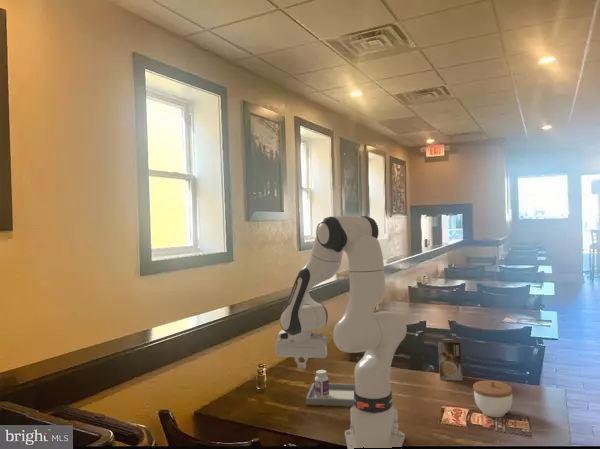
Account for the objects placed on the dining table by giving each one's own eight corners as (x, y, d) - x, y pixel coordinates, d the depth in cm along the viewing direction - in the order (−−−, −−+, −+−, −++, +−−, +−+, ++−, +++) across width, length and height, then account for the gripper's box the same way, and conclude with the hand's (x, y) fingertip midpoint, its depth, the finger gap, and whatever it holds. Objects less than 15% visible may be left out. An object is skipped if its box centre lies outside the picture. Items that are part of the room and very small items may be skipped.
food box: (461, 376, 197) (460, 338, 196) (462, 381, 191) (461, 342, 190) (439, 374, 199) (438, 337, 199) (439, 379, 193) (438, 341, 193)
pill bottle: (328, 392, 183) (327, 368, 183) (329, 398, 177) (328, 373, 177) (315, 393, 183) (314, 369, 182) (315, 399, 177) (314, 374, 177)
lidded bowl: (466, 409, 164) (465, 378, 164) (494, 402, 168) (493, 372, 168) (492, 423, 152) (491, 390, 152) (522, 416, 156) (520, 384, 156)
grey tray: (362, 407, 169) (362, 400, 169) (306, 404, 173) (305, 398, 173) (364, 390, 185) (364, 384, 185) (313, 388, 189) (312, 382, 189)
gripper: (328, 331, 182) (329, 366, 183) (277, 330, 186) (278, 364, 187) (325, 335, 176) (326, 371, 177) (273, 334, 180) (274, 369, 181)
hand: (301, 367), depth 182 cm, fingers closed
